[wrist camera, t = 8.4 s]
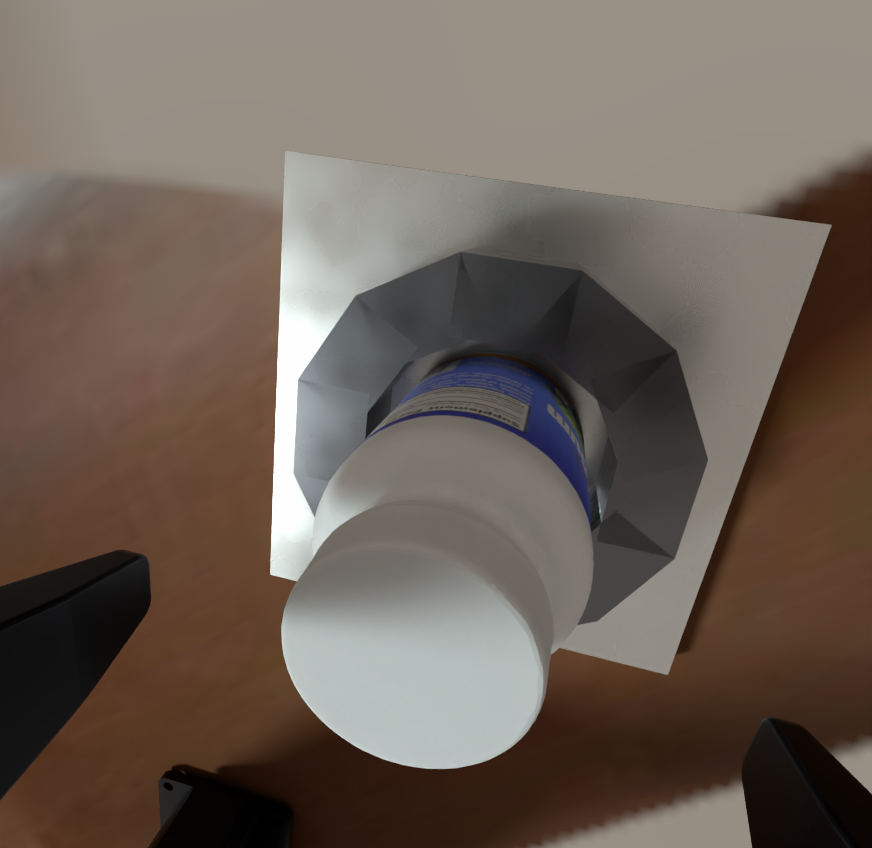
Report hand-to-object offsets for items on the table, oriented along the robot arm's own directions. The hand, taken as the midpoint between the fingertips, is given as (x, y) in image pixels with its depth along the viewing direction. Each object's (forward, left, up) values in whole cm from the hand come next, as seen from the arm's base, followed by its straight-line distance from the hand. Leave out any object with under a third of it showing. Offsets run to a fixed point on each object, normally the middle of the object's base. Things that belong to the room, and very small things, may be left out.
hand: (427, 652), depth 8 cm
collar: (0, 0, -10) cm, 10 cm away
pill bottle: (0, 0, -10) cm, 10 cm away
